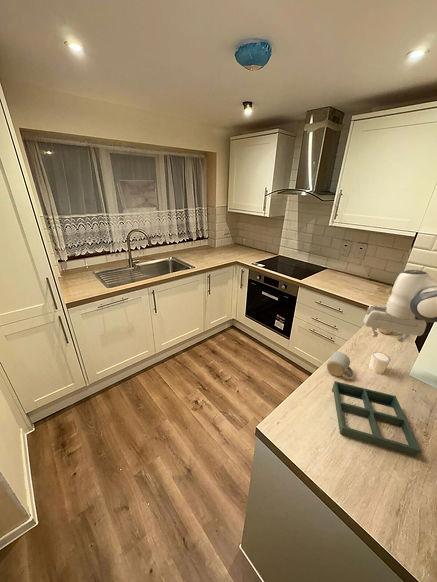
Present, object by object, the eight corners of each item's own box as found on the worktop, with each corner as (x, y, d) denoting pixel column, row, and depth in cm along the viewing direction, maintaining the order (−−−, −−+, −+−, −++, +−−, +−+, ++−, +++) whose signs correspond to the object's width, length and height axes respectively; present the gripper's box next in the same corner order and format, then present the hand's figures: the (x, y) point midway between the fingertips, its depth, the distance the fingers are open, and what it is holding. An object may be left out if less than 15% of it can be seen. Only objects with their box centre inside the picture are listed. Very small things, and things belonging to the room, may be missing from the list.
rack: (391, 404, 86) (395, 395, 84) (414, 460, 68) (420, 450, 66) (331, 389, 92) (334, 380, 90) (338, 437, 74) (342, 427, 72)
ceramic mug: (323, 371, 101) (328, 357, 97) (329, 362, 106) (333, 348, 103) (350, 384, 95) (356, 370, 91) (355, 373, 100) (360, 359, 97)
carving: (395, 335, 128) (403, 316, 124) (381, 335, 128) (389, 316, 123) (387, 329, 134) (394, 310, 129) (374, 328, 134) (381, 310, 129)
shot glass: (370, 361, 108) (375, 349, 105) (387, 370, 103) (392, 357, 100) (364, 368, 104) (369, 355, 101) (382, 377, 99) (387, 364, 96)
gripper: (371, 308, 92) (360, 337, 97) (433, 318, 86) (418, 348, 92) (367, 301, 97) (357, 329, 103) (425, 310, 92) (412, 339, 97)
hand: (386, 338), depth 97 cm, fingers open, 8 cm apart
